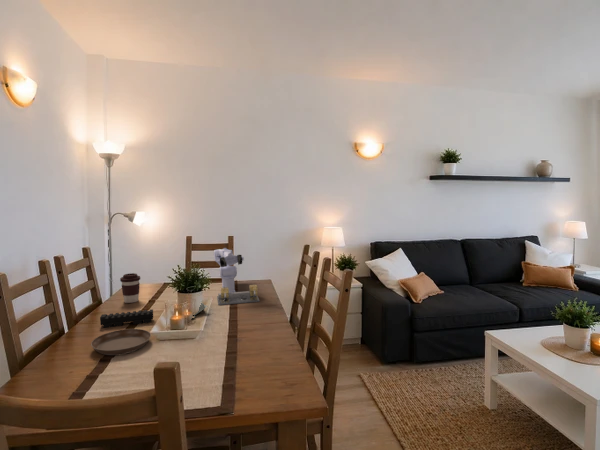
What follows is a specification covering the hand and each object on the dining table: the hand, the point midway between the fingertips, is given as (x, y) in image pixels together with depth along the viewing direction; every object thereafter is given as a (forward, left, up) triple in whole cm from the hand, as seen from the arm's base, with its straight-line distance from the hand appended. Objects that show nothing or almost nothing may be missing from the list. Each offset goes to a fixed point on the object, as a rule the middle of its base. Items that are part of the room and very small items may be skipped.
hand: (233, 263), depth 192 cm
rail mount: (+20, -50, -22) cm, 58 cm away
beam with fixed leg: (-4, +2, -20) cm, 21 cm away
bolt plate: (-3, +2, -21) cm, 21 cm away
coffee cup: (-17, -55, -21) cm, 61 cm away
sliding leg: (-4, +11, -20) cm, 23 cm away
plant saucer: (+46, -47, -22) cm, 69 cm away
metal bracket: (+14, -22, -22) cm, 34 cm away
